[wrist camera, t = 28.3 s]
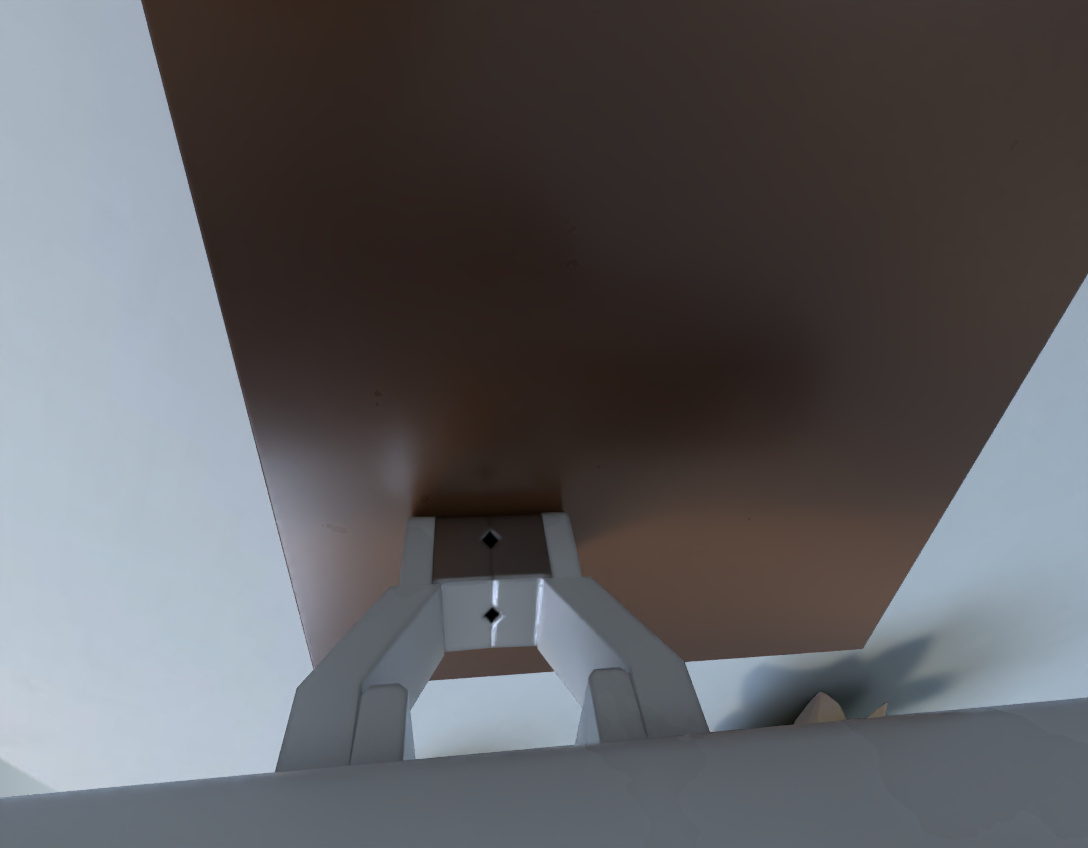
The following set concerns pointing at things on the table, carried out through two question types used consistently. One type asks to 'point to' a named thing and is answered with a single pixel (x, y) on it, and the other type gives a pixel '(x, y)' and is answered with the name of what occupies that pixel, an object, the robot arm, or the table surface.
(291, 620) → the table surface
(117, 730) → the table surface
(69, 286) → the table surface
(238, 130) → the chest lid
